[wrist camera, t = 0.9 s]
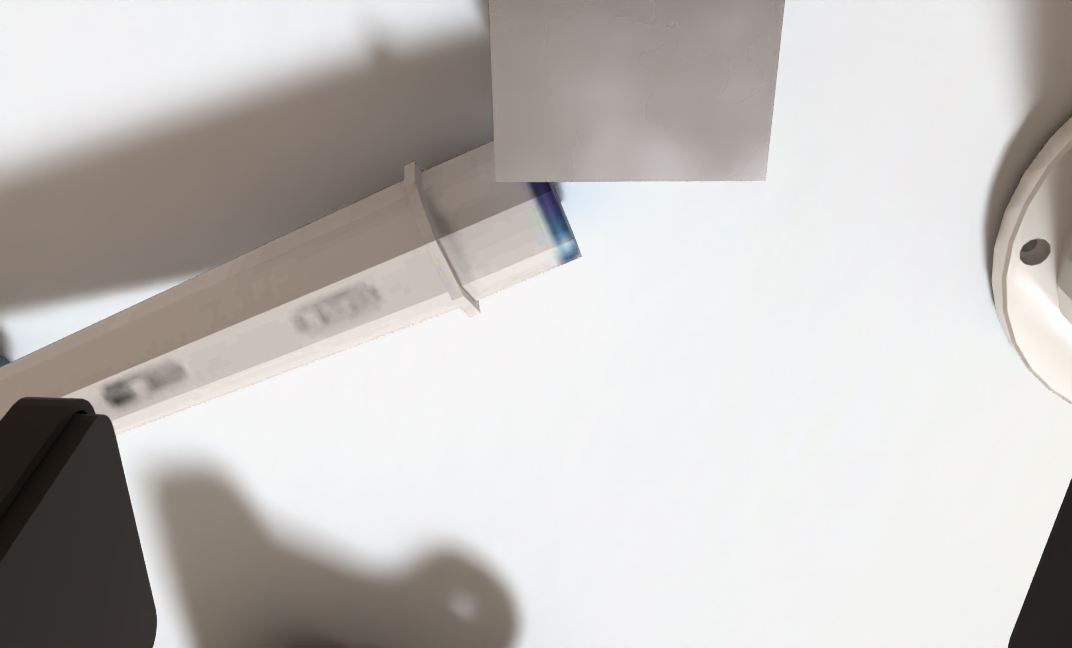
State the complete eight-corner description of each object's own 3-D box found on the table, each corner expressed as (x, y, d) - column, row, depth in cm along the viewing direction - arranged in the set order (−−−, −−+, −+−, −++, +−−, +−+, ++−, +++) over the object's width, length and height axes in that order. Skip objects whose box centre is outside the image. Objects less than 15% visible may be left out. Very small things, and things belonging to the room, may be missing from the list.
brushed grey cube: (740, -150, 25) (796, -112, 19) (722, 84, 28) (765, 180, 22) (502, -147, 25) (484, -108, 19) (509, 86, 28) (495, 182, 22)
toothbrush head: (599, 300, 28) (-176, 623, 30) (567, 213, 34) (-78, 488, 36) (526, 131, 25) (-311, 495, 28) (505, 69, 31) (-183, 374, 33)
